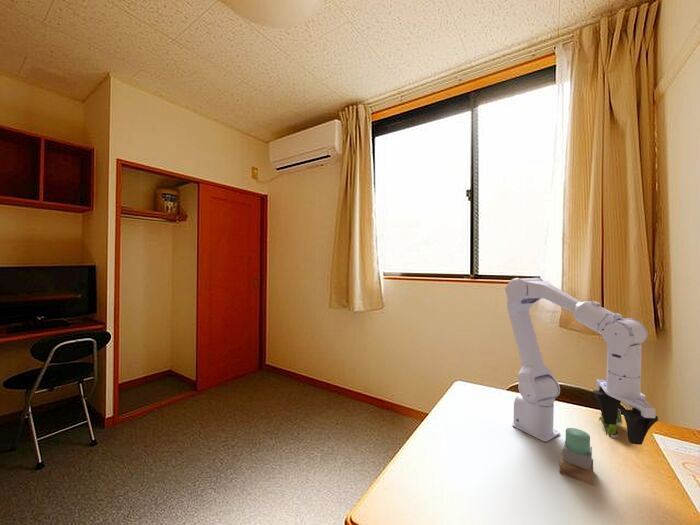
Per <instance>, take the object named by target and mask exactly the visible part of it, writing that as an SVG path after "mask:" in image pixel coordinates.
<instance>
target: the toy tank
mask: <svg viewBox="0 0 700 525" xmlns="http://www.w3.org/2000/svg"><path fill="white" fill-rule="evenodd" d="M600 415H601V416H599V419H598V422H600V421H601V424H602V426H603V427H604V429H605V436H609V438H612V439H615V438H618V437H619V430H618V427H619V426H622V425H623V417H622V411H621V409H620V408H618V414H617V421H616V424H615V425H612V424H605V423H604V421H603V417H602V413H601V414H600Z"/></svg>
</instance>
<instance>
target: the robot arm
mask: <svg viewBox="0 0 700 525" xmlns="http://www.w3.org/2000/svg"><path fill="white" fill-rule="evenodd" d="M504 290H505V294H506V298H507V301H506V302H507V303H506V309H507V313H508V317H509V320H510V323H511V328H512V331H513V336H514V340H515V343H516V346H517V350H518V354H519V357H520V358H519V359H520V361H521V365H522V367H521V369H520V370H519V372H518V373H517V378H518V386H517V388H518V391H519V393H518V394H517V395H516V397H515V398H514V402H513V423H511V425H512V427H514V428H516V429H518V430H520V431H522V432H525V433H527V435H530V436H532V437H534V438H535V439H538V440H540V441H542V442H544V443H545V442H549V441H550V440H552V439H554V438H555V437H558V436H559V435H560V434H561V432H560V431H558V430H556V429H554V413H555V412H554V410H555V409H554V408H555V407H554V403H555V402H556V398H557V397H558V396H560V393H561V387H560V384H559V382H558V381H557V379H556V377H555V376H554V373H553V370H551V369H550V368H549V367H548V366H547V365H545V363H544V359H543V356H542V352H541V349H540V346H539V343H538V339H537V336H536V333H535V329H534V326H533V323H532V318H531V315H530V310H531V308H532V307H533V306H534V304H536V303H537V302H539V301H540V300H541V299H545V300H546V301H549V302H551V303H552V304H555V305H557V306H559V307H561V308H563V309H564V310H567V311H569V312H570V313H572V315H573V318H574V320H575V321H577V322H578V323H580V324H582V325H584V326H586V327H587V328H589V329H591V330H593V331H594V332H596V333H598V334H599V335H601V337H602V339H603V340H604V341H605V343H606V380H605V379H596V380H595V381H596V382H595V388H597V389H598V390H593V391H592V394H593V396H594V397H595V399H596V401H597V404H598V407H599V408H600V413H601V414H602V417H603V421H604V423H605V424H612V425H615V424H616V421H617V414H618V408H619V407H620V406H621V405H620V404H621V403H624V404H625V405H626V406H628V407H630V408H631V409H625V408H621V409H620V408H619V409H620V411H621V414H622V415H623V417H624V420H625V425H626V432H627V439H628V442H629V443H630V444H631V445H638V446H639V445H643V443H644V440H645V437H646V436H647V433H648V432H649V431H650V429H651V427H652V426H653V425H654V424H655V423H657V422H658V421H659V417H658V416H657V415H656V412H657V411H656V408H655V407H653V406H652V405H650V404H649V403H648V401H646V395H645V394H644V393H642V392H641V391H642V390H641V386H642V384H641V381H642V348H643V346H642V344H643V343H644V342H646V341H647V339H648V335H649V332H648V329H647V328H646V326H645V325H644V324H643V323H641V322H640V321H638V320H637V318H629V317H627V318H623V315H622V314H620V313H618V312H616V313H614V312H613V311H611V310H609V309H606V308H605V307H602V306H601V303H600V302H599V301H596V300H595V301H590V300H584V301H580V300H579V299H577V298H576V297H574V296H572V295H570V294H568V293H567V292H565V291H563V290H562V289H560V288H558V287H557V286H554V285H553V284H552V283H551V282H550V281H548V280H544V279H543V278H541V277H531V278H529V277H527V278H526V277H525V278H519V277H515V278H512V279H510V280H509V281H508V282H507V285H506V286H505V288H504Z"/></svg>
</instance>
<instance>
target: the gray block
mask: <svg viewBox="0 0 700 525" xmlns="http://www.w3.org/2000/svg"><path fill="white" fill-rule="evenodd" d="M565 443H566V439H565V441H564V443H563V448H562V449H563V461H565V462H567V463H570V464H573V465H575V466H578V467H581V468H584V469H586V470H589V471H591V462H592V459H593V447H592V446H590V454H588V455H580V454H576V453H574V452H572V451H570V450H569V449H568V448H567V447H566V445H565Z"/></svg>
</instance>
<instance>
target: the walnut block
mask: <svg viewBox="0 0 700 525" xmlns="http://www.w3.org/2000/svg"><path fill="white" fill-rule="evenodd" d="M559 474H561V475H564V476H566V477H569V478H571V479H574V480H576V481H580V482H582V483H585V484H587V485H590V486H594V459H593V458H592V462H591V471H589V470H586V469H584V468H581V467H578V466H575V465H573V464H570V463H567V462H565V461H563V448H561V452H560V459H559Z"/></svg>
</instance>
